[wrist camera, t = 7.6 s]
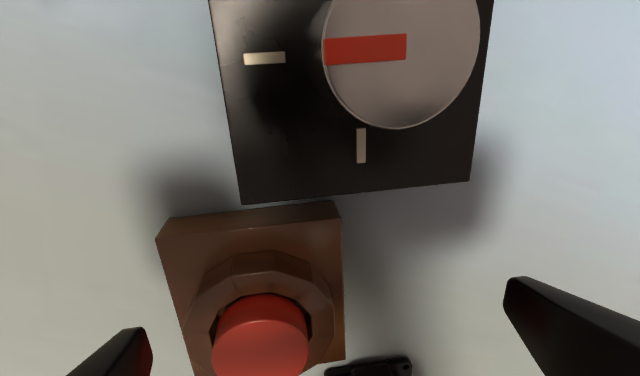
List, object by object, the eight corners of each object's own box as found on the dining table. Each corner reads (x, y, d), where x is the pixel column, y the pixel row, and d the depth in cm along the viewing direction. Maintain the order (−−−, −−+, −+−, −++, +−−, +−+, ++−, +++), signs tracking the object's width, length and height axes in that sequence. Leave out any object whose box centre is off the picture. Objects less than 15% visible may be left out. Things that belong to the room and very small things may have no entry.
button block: (338, 332, 21) (352, 387, 18) (204, 353, 20) (189, 417, 17) (333, 199, 18) (349, 235, 14) (168, 217, 17) (138, 261, 13)
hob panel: (428, 157, 17) (471, 183, 14) (248, 174, 16) (241, 207, 13) (448, -89, 13) (518, -151, 10) (209, -89, 12) (181, -159, 8)
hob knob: (416, -15, 11) (502, -63, 7) (410, 105, 12) (478, 124, 8) (299, -10, 10) (317, -57, 6) (309, 114, 12) (328, 139, 8)
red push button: (308, 352, 17) (312, 383, 15) (225, 366, 16) (220, 399, 15) (302, 286, 15) (306, 313, 13) (209, 299, 15) (201, 328, 13)
